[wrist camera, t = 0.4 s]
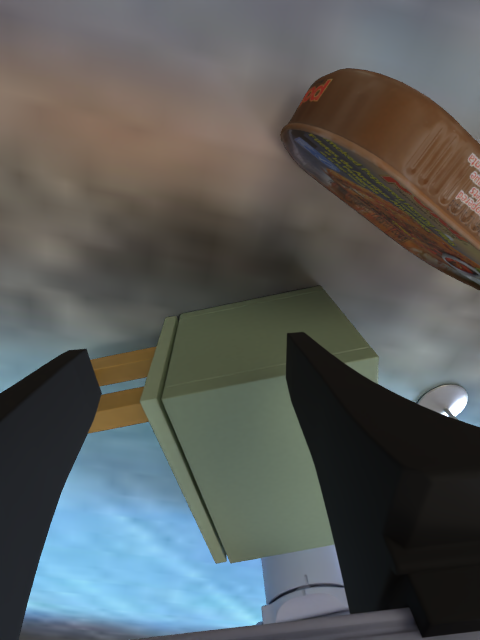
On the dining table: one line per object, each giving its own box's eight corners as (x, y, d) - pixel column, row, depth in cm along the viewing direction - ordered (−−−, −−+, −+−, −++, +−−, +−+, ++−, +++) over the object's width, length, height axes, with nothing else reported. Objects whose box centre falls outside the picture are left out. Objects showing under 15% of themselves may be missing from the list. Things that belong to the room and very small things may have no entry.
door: (151, 472, 29) (130, 579, 22) (79, 335, 21) (9, 427, 14) (223, 458, 29) (226, 561, 21) (176, 315, 21) (156, 398, 14)
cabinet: (226, 457, 29) (230, 563, 21) (180, 313, 21) (160, 399, 14) (331, 437, 29) (372, 538, 21) (320, 284, 21) (379, 356, 14)
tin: (264, 140, 17) (303, 129, 9) (299, 81, 16) (375, 14, 8) (439, 275, 21) (557, 338, 14) (476, 237, 20) (625, 283, 13)
